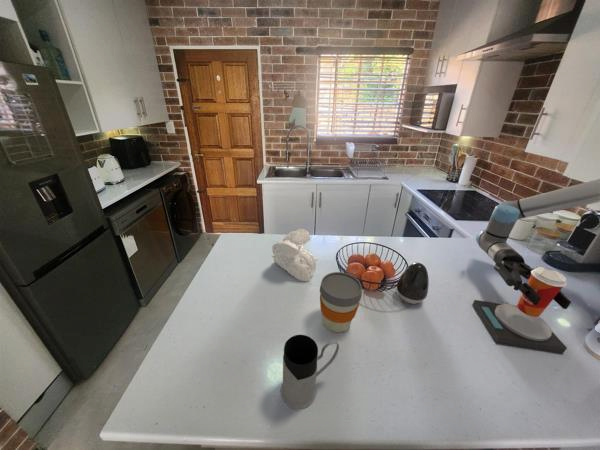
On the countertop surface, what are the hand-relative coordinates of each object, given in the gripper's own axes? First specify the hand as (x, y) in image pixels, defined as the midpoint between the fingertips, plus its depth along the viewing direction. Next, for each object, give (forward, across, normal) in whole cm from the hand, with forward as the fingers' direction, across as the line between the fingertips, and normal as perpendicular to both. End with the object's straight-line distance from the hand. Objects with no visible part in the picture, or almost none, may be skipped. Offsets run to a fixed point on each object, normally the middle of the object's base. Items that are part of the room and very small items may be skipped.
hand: (552, 303), depth 69 cm
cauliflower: (-21, +77, -16) cm, 82 cm away
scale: (-5, +1, -15) cm, 16 cm away
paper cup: (-5, 0, -8) cm, 9 cm away
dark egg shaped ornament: (-12, +32, -16) cm, 38 cm away
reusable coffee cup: (+4, +58, -16) cm, 61 cm away
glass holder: (+26, +64, -16) cm, 71 cm away
